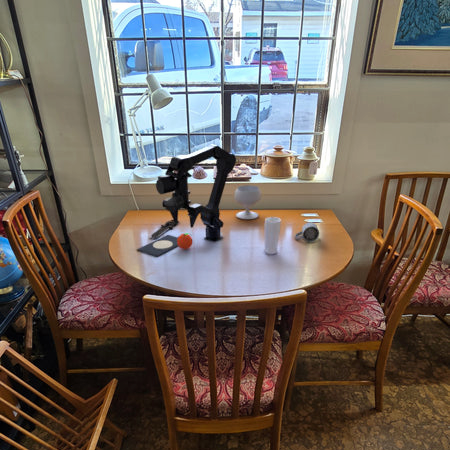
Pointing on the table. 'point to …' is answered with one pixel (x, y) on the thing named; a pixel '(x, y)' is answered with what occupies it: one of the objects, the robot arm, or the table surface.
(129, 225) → the table surface
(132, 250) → the table surface
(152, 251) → the placemat
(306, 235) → the ceramic mug
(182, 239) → the clementine
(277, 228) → the drinking glass
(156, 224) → the table surface
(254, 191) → the chalice
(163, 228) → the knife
